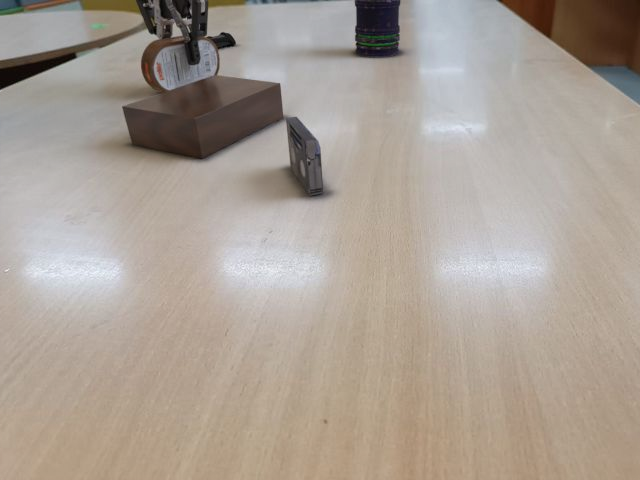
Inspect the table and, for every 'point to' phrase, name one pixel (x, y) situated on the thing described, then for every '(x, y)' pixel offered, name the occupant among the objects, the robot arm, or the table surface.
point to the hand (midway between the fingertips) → (183, 62)
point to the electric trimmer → (223, 39)
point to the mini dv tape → (305, 156)
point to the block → (203, 115)
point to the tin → (177, 63)
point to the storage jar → (377, 28)
